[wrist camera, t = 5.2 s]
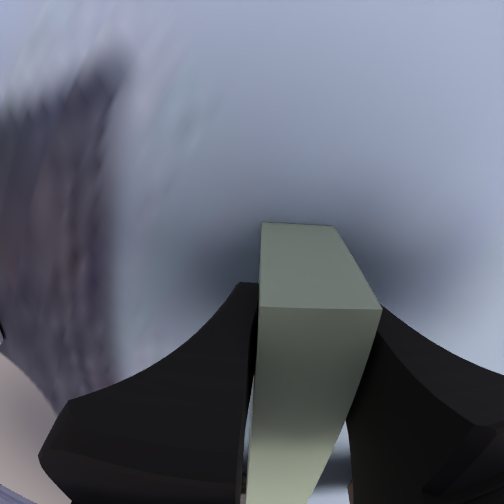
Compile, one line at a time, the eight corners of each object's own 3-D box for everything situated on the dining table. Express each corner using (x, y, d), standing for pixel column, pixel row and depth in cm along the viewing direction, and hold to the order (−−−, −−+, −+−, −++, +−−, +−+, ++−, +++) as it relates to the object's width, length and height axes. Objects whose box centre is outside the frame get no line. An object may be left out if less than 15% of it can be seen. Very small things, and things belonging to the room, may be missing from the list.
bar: (247, 470, 17) (243, 537, 12) (261, 222, 10) (260, 306, 6) (285, 471, 17) (286, 538, 12) (334, 226, 10) (382, 309, 6)
